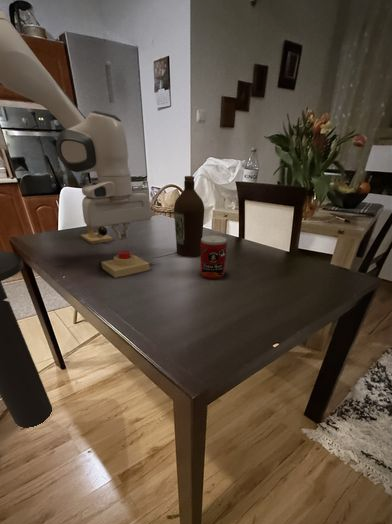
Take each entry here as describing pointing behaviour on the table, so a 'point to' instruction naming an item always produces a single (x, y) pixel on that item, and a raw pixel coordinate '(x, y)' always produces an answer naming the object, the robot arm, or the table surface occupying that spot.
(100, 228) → the lever
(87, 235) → the bracket
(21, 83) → the robot arm
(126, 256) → the button
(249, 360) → the table surface
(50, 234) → the table surface
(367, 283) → the table surface
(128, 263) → the button block
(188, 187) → the olive oil
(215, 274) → the canned food
